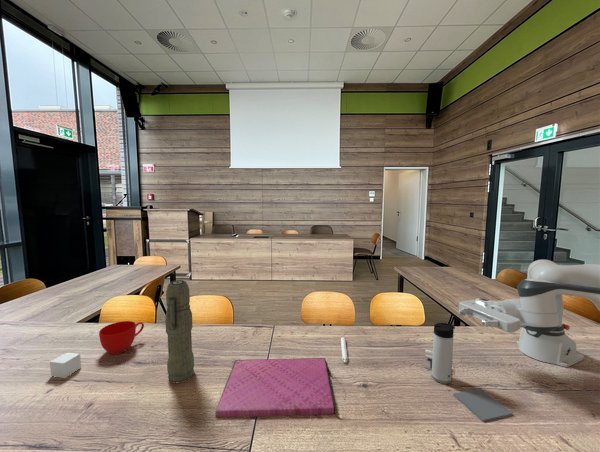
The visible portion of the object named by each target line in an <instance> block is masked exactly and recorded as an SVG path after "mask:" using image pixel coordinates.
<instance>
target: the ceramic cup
mask: <svg viewBox="0 0 600 452" xmlns="http://www.w3.org/2000/svg"><path fill="white" fill-rule="evenodd" d="M139 325H141V327H140V329H139V330H138V331H137V332H136V330H137V327H138V326H139ZM144 327H145V324H144V323H143V322H141V321H138V322H135V321H131V320H124V321H117V322H113V323H110V324H108V325H106V326H103V327H102V328H101V329H100V330H99V331H98V335H99V336H98V337H99V341H100V345H101V347H102V348H103V349H104V351H106V352H107V353H109V354H110V353H111V354H110V355H119V354H118V353H120V354H122V353H121V352H123V353H125V352H126V351H127V349H128V350H129V348H130V347H131V346H132V345H133V343H134V341H135V338H136V337H137V336H138V335H139V334H140V333H141V332H142V331H143V329H144ZM125 350H126V351H125ZM124 351H125V352H124Z"/></svg>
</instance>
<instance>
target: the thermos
mask: <svg viewBox="0 0 600 452" xmlns="http://www.w3.org/2000/svg"><path fill="white" fill-rule="evenodd" d="M165 290H166V291H165V296H166V299H165V300H166V306H167V307H166V313H165V318H164V319H165V321H164V322H165V333H166V335H167V348H168V349H167V350H168V351H167V353H168V354H167V355H168V359H167V362H166V366H167V375H168V377H167V379H169V380H168V382H170V381H171V382H170V383H172V382H175V383H174V384H177V383H176V382H181V383H183V382H182V381H184V382H186V381H188V380H189V378H190V379H191V378H192V377H193V376H194V373H195V371H194V367H195V355H194V353H193V342H192V341H193V339H192V329H193V327H194V326H193V312H192V309H191V305H190V299H191V298H190V287H189V285H188V282H187V281H186V280H183V279H182V280H180V279H178V280H173V281H170V282H169V283H168V284H167V286H166V289H165ZM185 380H186V381H185Z"/></svg>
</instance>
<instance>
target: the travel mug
mask: <svg viewBox="0 0 600 452" xmlns="http://www.w3.org/2000/svg"><path fill="white" fill-rule="evenodd" d="M455 329H456V326H454V325H453V324H450V323H447V322H438V323H435V324H434V325H433V336H432V337H433V339H432V351H433V355H432V370H431V378H432V379H433V380H434V381H436V382H437V383H440V384H444V385H445V384H446V385H447V384H450V383H451V382H452V370H453V369H452V368H453V355H454V354H453V350H454V334H455V333H454V331H455Z"/></svg>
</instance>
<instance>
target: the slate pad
mask: <svg viewBox="0 0 600 452" xmlns="http://www.w3.org/2000/svg"><path fill="white" fill-rule="evenodd" d="M452 396H453V397H454V398H456V399H457V400H458V401H459V402H460V403H461V404H463V406H465V407H466V409H468V410H469V411H470V412H471V413H472V414H473V415H475V417H476V418H478V419H479V420H480V421H481V422H483V423H484V422H489V421H493V420H498V419H502V418H507V417H511V416H514V413H513V412H512V411H511V410H509V409H508V408H507V407H506V406H504V404H501V402H499V401H498V400H497V399H495V398H494V397H493V396H491V395H490V394H489V393H488V392H486V391H485V390H483V389H482V388H476V389H469V390H464V391H459V392H455V393H452Z"/></svg>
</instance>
